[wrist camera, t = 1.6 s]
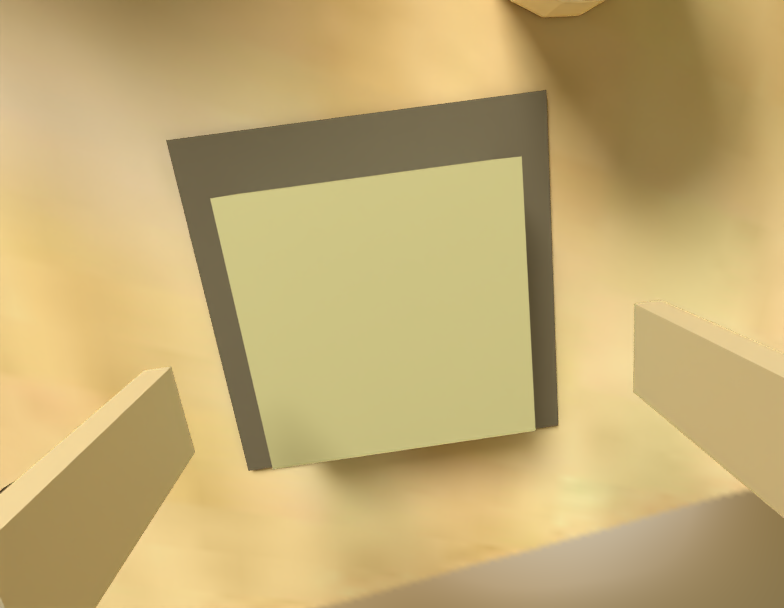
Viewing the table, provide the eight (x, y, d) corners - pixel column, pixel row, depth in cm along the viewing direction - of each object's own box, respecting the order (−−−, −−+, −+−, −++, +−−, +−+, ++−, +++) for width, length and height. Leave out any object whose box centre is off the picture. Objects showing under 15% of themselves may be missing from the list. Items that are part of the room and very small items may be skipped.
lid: (288, 420, 23) (272, 469, 19) (239, 193, 20) (210, 198, 16) (507, 388, 23) (535, 430, 19) (491, 159, 20) (521, 156, 16)
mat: (249, 467, 24) (248, 470, 24) (169, 140, 20) (166, 140, 19) (555, 422, 24) (558, 425, 24) (543, 91, 20) (546, 89, 20)
